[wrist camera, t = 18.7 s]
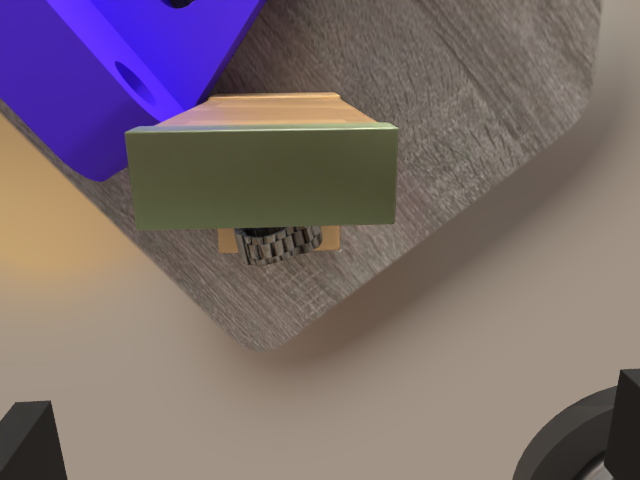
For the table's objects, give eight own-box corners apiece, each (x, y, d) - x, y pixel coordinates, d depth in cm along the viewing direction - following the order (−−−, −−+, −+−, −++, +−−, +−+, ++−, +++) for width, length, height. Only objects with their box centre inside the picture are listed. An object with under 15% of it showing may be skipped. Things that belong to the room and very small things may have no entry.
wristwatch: (280, 240, 36) (332, 244, 33) (218, 262, 33) (269, 269, 29) (272, 197, 36) (324, 196, 32) (209, 214, 32) (259, 215, 29)
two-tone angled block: (334, 232, 39) (388, 413, 19) (225, 235, 39) (159, 424, 18) (334, 92, 36) (399, 127, 16) (216, 93, 35) (123, 131, 15)
